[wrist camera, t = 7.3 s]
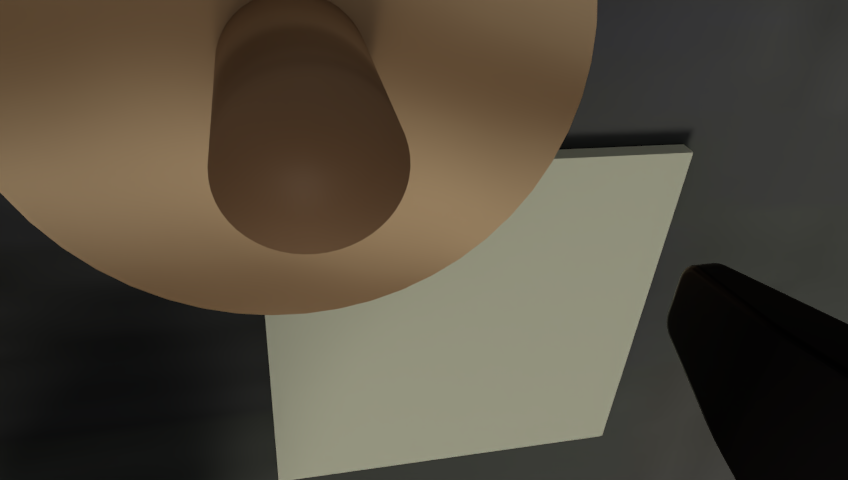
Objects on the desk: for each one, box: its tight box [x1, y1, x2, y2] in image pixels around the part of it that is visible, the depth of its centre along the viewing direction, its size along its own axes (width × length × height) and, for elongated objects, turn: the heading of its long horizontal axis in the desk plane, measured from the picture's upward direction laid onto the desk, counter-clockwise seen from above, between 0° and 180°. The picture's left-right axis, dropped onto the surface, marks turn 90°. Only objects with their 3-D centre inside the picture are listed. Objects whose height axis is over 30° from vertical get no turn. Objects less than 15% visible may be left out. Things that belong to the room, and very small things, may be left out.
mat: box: [265, 144, 693, 480], centre depth 25 cm, size 14×14×1 cm
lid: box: [0, 0, 597, 315], centre depth 12 cm, size 12×12×5 cm
